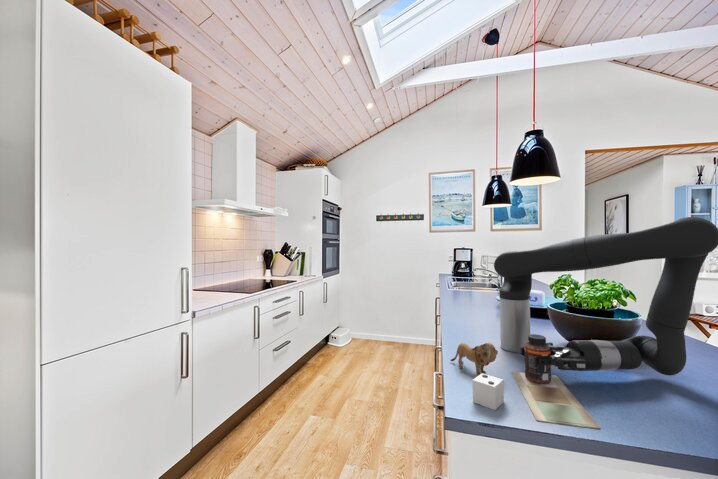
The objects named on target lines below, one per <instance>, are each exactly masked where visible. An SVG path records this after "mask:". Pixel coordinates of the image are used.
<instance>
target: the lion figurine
mask: <svg viewBox="0 0 718 479" xmlns="http://www.w3.org/2000/svg"><path fill="white" fill-rule="evenodd" d="M456 349H457V350H456V354H455V356H454V358H451V359H450V362H454V361H455V360H457V358H458V360H457V361H458V363H457V364H458V368H459V369H460V370H462V369H464V366H463V365H462V364H464V361H463V360H462V359H463V358H466V359H467V360H468V361H470V362H472V363H474V365H475V373H476V377H477V376H479V375H480V374H482V373H483V374H486V372H487V371H486V370H484V367H486V366H488V365H489V364H490V363H494V362H495V361H496V360H497V356H498V354H499V350H497V349H496V347H495V346H494V344H493V343H490V342H486V343H483V344H480V345H476V346H474V348H473V347H470V346H469V345H468V344H466V343H460V344H458V346H457V348H456Z"/></svg>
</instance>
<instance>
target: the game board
mask: <svg viewBox="0 0 718 479" xmlns="http://www.w3.org/2000/svg"><path fill="white" fill-rule="evenodd" d="M511 374H512V376H513V378H514V379H515V381H516V383H517V385H518V387H519V390H520V391H521V393H522V395H523V397H524V399H525V401H526V403H527V405H528V407H529V409H530V411H531V413H532V415H533V417H534V419H535V420H536V422H542V423H550V424H559V425H566V426H571V427H572V426H574V427H580V428H589V429H596V430H597V429H598V430H601V427H600V426H599V424H597V422H596V421H595V420H594V418H592V416H591V415H590V414H589V413H588V412H587V410H586V409H585V408H584V407H583V405H581V403H580V402H579V401H578V399H577V398H576V397H575V396H574V395H573V394H572V392H570V389H568V388H567V386H566V384H564V383H563V382H562V380H561V379H560V378H559V377H558V376H557V375H552V374H551V382H549V383H547V384H541V383H535V382H532V381H530V380H528V379H527V378H526V377H525V372H520V371H511Z"/></svg>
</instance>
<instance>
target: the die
mask: <svg viewBox="0 0 718 479" xmlns="http://www.w3.org/2000/svg"><path fill="white" fill-rule="evenodd" d="M504 385H505V384H504V379H503V378H499V377H496V376H493V375H489V374H486V373H485V374H483V373H481V374H480V375H479V376H477V375H476V376H475V377H474V378H472V402H473V403H475V404H478V405H480V406H483V407H485V408H488V409H491V410H493V411H497V409H498V408H499V407H501V405H502V404H504V403H505V392H504V391H505V390H504V387H505V386H504Z"/></svg>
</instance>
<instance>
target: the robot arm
mask: <svg viewBox="0 0 718 479" xmlns="http://www.w3.org/2000/svg"><path fill="white" fill-rule="evenodd" d="M717 247H718V227H717V226H716V225H715V224H714V223H713V222H711V221H710V220H708V219H705V218H702V217H696V216H689V217H688V216H687V217H682V218H678V219H677V220H674V221H672V222H668V223H665V224H662V225H659V226H655V227H651V228H646V229H643V230H638V231H633V232H625V233H610V234H609V233H608V234H607V233H606V234H598V235H591V236H585V237H579V238H574V239H570V240H565V241H561V242H557V243H554V244H550V245H547V246H543V247H539V248H535V249H529V250H519V251H517V250H516V251H514V250H513V251H506V252H502V253H501V254H499V255H498V256H497V257H496V258H495V260H494V263H493V267H494V271H495V272H496V273H497V275H499V276H500V277H502V278H503V284H502V286H501V287H500V288H499V292H498V293H499V294H498V295H499V322H500V323H499V329H500V331H499V332H500V334H499V336H500V337H499V338H500V348H501V349H503V350H504V351H507V352H511V353H519V354H520V355H521V356H522V357H525V356H524V345H525V344H526V343H527V342H529V340H528V335H531V334H532V333H531V332H532V331H531V306H530V304H531V303H530V302H531V301H530V300H531V299H530V295H531V291H532V286H533V284H532V282H533V277H532V276H533V274H538V273H552V272H553V273H558V272H559V273H560V272H577V271H586V270H587V271H588V270H594V269H601V268H609V267H613V266H620V265H623V264H628V263H629V264H630V263H633V262H639V261H646V260H647V261H648V260H661V259H664V263H663V268H662V272H661V275H660V278H659V281H658V284H657V285H656V288H655V291H654V293H653V296H652V298H651V299H652V300H650V305H649V309H648V313H647V316H646V320H645V326H646V328H647V329H648V330H649V331H650V332H651V333H652V334H653V335H654V337H653V336H649V335H635V336H632V337H628V338H626V339H621V340H602V339H601V340H599V339H591V340H572V341H567V344H566V345H565V346H564V345H557V344H556V345H554V343H553V342H550V341H549V342H546V344H547V345H548V346H549V347H550V353H551V357H550V356H534V364H535V365H537V366H546V365H551V368H552V367H553V368H556V367H557V369H558V370H560V371H577V372H603V371H604V372H605V371H606V372H607V371H613V370H614V371H615V370H618V371H619V370H620V371H621V370H626V371H627V370H636V369H637V368H638V369H639V367H640V366H641V365H642V363H644V364H645V365H647V366H648V367H650V368H652V370H654V371H655V372H658V373H659V374H661V375H664V376H675V375H677V374H679V373H681V372H682V371H683V369H684V368H685V367H686V363H687V350H686V349H687V348H686V337H685V330H686V327H687V324H688V322H689V318H690V314H691V311H692V306H693V302H694V297H695V296H694V295H695V290H696V286H697V281H698V279H699V274H700V272H701V269H702V267H703V264H704V263H705V260H706V259H707V257H708V255H709V254H710V253H712V252H713V251H714V250H716V249H717Z"/></svg>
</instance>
